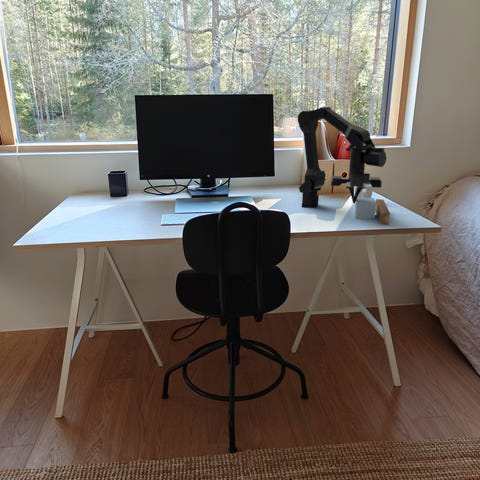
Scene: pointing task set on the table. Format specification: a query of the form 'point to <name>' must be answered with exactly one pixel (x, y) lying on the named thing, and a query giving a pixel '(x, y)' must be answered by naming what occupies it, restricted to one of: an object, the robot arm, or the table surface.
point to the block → (365, 208)
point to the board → (382, 212)
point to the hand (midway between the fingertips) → (353, 203)
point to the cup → (366, 192)
